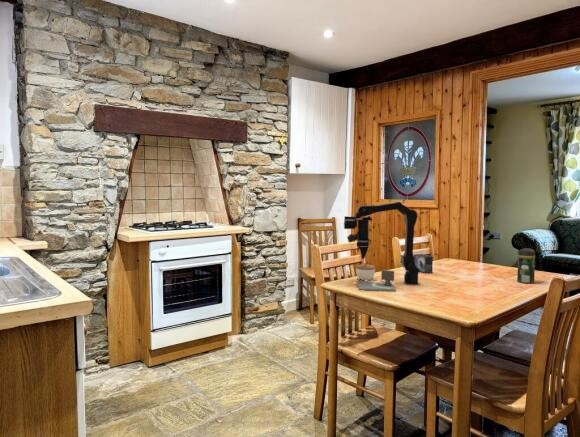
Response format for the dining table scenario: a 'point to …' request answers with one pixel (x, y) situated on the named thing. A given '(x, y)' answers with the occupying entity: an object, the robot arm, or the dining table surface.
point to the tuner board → (374, 286)
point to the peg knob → (386, 277)
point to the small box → (423, 263)
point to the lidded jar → (365, 271)
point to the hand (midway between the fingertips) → (363, 257)
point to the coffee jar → (526, 265)
